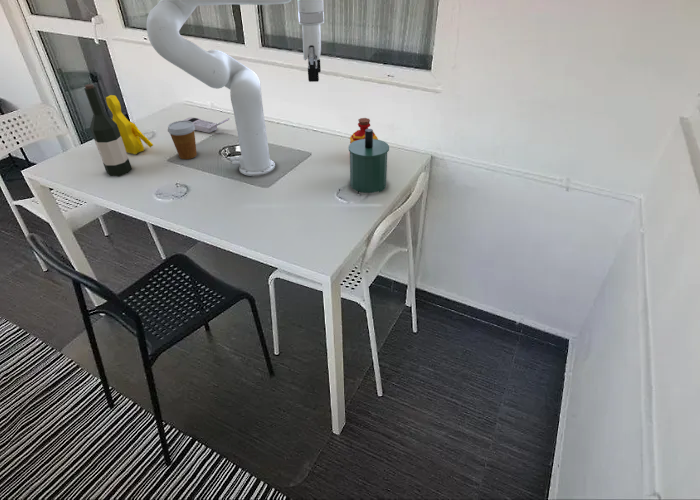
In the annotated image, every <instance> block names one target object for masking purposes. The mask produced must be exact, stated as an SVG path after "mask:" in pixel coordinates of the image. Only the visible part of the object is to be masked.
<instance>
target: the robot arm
mask: <svg viewBox="0 0 700 500" xmlns="http://www.w3.org/2000/svg"><path fill="white" fill-rule="evenodd" d="M291 1H293V0H159V1H158V2H157V4H156V5H155V6H153V7H152V8H151V9H150V10H149V11H148V15H147V18H146V32H147V38H148V40H149V42H150V44H151V47H152V48H153V49H154V51H155V52H156V53H157V54H158V55H159V56H160V57H162V58H163V59H164V60H166V61H167V62H169V63H170V64H172V65H174V66H175V67H177V68H179V69H180V70H182V71H183V72H185V73H187V74H188V75H190V76H192V77H193V78H195V79H196V80H198V81H200V82H202V83H203V84H205V85H206V86H207V87H210V88H212V89H217V90H218V89H222V88H224V87H225V88H226V89H228V90H229V94H230V96H229V97H230V103H231V107H232V111H233V115H234V121H235V126H236V127H235V128H236V132H237V138H238V143H239V150H240V155H239V156H230V158H229V161H230V163H232V166H238V171H239V172H240V173H241V174H242V175H245V176H248V177H254V176H261V175H262V176H263V175H265V174H268V173H270V172H272V171H273V170H274V169H275V168H276V163H275V161H274V160H272V159H271V158H270V157H271V156H270V149H269V142H268V133H267V128H266V120H265V113H264V106H263V105H264V104H263V95H262V86H261V81H260V78H259V76H258V74H257V73H256V72H254V70H252V69H251V68H249V67H248V66H246V65H244V63H242V62H240V61H239V60H237V59H236V58H234V57H232V56H231V55H230V54H228V53H226V52H224V51H222V50H218V49H209V50H205V49H203V48H201V46H199V45H197V44H196V43H194V42H193V41H191V40H189V39H187V38H185V37H184V36H182V35H181V34H180V31H181V28H182V27H183V26H184V24H185V23H186V21H188V19H189V18H190V16H191V15H192V14H193V13H194V11H195V10H196V9H197V7H202V6H203V7H204V6H222V5H223V6H224V5H239V6H244V5H247V6H248V5H249V6H250V5H252V6H266V5H282V4H288V3H291ZM296 1H297V13H298V25H300V26H301V27H302V31H301V32H302V51H303V52H302V55H303V60H304V61H307V78H308V79H307V80H308V82H310V83H313V82H315V83H317V82H319V81H320V77H319V76H320V75H319V73H321V69H322V68H321V59H320V57H321V54H322V53H321V52H322V34H321V33H322V32H321V25H323V24H325V13H324V0H296Z"/></svg>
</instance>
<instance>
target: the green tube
mask: <svg viewBox="0 0 700 500" xmlns="http://www.w3.org/2000/svg"><path fill="white" fill-rule="evenodd" d="M387 172H388V152H387V153H386V154H385V155H382V156H379V157H373V158H365V157H359V156H356V155H353V154H352V153H350V152H349V186H350V187H351V188H352V190H353V191H356V192H359V193H362V194H363V193H365V194H373V193H381V192H383V191H385V189H386V187H387V176H388V175H387V174H388V173H387Z"/></svg>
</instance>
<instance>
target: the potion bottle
mask: <svg viewBox="0 0 700 500" xmlns="http://www.w3.org/2000/svg"><path fill="white" fill-rule="evenodd" d="M370 122H371V119H370V118H367V117H360V118H358V123H357V125H358V128H359V129H357V130H356V131H355V132H353V133H352V135H350V137H349V140H350V142H349V145H350V144H351V143H352V142H354V141H357V140H361V139H365V130H366V129H369V127H371V123H370ZM373 139H377V140H379V138H378V136H377V135H376V134H375V132H374V131H373Z"/></svg>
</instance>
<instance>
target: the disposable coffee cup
mask: <svg viewBox="0 0 700 500" xmlns="http://www.w3.org/2000/svg"><path fill="white" fill-rule="evenodd" d="M195 131H196V130H195V126H194V125H193V123H192V122H191V121H183V120H177V121H173V122H170V123H169V124H168V126H167V132H168V134H169V135H170V138H171V140H172V143H173V145H174V148H175V150H176V152H177V154H178V157H179V159H181V160H190V159H193V158H195V157H197V155H198V153H197V143H196V134H195V133H196V132H195Z"/></svg>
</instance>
